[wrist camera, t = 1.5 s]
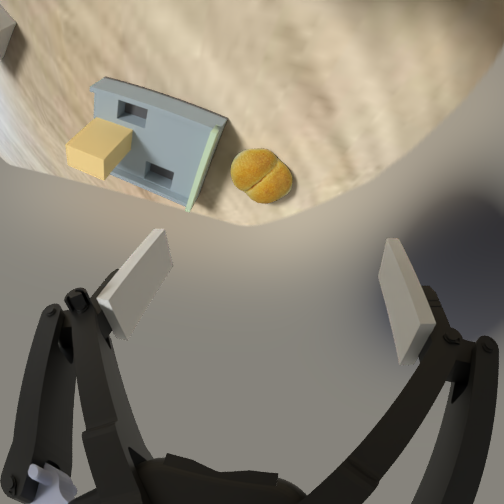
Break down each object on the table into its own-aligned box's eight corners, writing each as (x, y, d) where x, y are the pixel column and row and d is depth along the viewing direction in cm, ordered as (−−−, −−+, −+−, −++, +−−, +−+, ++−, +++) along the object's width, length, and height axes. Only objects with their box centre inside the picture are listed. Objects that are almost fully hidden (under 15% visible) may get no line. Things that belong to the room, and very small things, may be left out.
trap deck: (102, 153, 44) (88, 169, 41) (105, 76, 31) (86, 89, 29) (199, 194, 47) (189, 212, 45) (227, 118, 34) (216, 134, 32)
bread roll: (257, 135, 36) (250, 150, 34) (302, 177, 40) (299, 194, 38) (221, 166, 42) (212, 182, 39) (264, 201, 46) (258, 219, 43)
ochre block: (96, 136, 38) (67, 165, 33) (96, 117, 35) (65, 144, 30) (130, 149, 39) (104, 180, 35) (132, 129, 36) (103, 159, 31)
